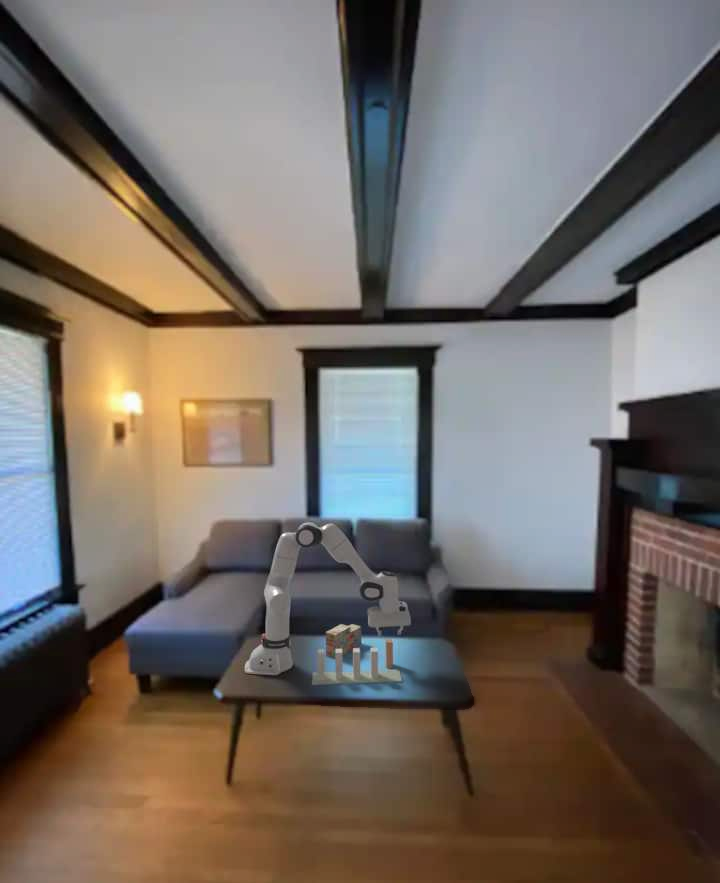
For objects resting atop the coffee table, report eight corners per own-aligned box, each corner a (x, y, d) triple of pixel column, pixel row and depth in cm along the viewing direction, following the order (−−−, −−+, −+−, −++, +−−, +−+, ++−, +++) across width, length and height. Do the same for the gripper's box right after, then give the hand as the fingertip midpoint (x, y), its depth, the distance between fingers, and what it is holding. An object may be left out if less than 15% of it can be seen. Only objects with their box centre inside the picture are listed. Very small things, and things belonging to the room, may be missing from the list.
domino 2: (335, 679, 213) (335, 652, 213) (335, 675, 217) (335, 648, 217) (342, 679, 213) (342, 652, 213) (342, 674, 217) (342, 648, 217)
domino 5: (386, 667, 225) (386, 642, 224) (385, 663, 229) (385, 639, 228) (392, 667, 225) (392, 642, 225) (391, 663, 229) (391, 638, 229)
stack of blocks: (352, 641, 254) (352, 618, 254) (361, 644, 250) (361, 620, 250) (325, 656, 237) (325, 631, 237) (335, 659, 233) (335, 634, 233)
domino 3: (353, 678, 214) (353, 652, 213) (353, 674, 218) (353, 648, 217) (360, 678, 214) (360, 652, 214) (359, 674, 218) (359, 648, 218)
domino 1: (317, 680, 213) (317, 653, 213) (318, 675, 217) (317, 649, 217) (324, 679, 213) (324, 653, 213) (324, 675, 217) (324, 649, 217)
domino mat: (311, 685, 210) (311, 683, 210) (312, 673, 220) (312, 672, 220) (402, 681, 212) (402, 680, 212) (399, 670, 222) (399, 669, 222)
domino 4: (371, 678, 214) (371, 651, 214) (370, 673, 218) (370, 647, 218) (378, 677, 214) (377, 651, 214) (377, 673, 218) (377, 647, 218)
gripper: (367, 609, 222) (368, 638, 223) (411, 607, 224) (411, 636, 224) (366, 604, 229) (367, 633, 229) (408, 602, 230) (409, 631, 230)
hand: (389, 634), depth 227 cm, fingers open, 8 cm apart
